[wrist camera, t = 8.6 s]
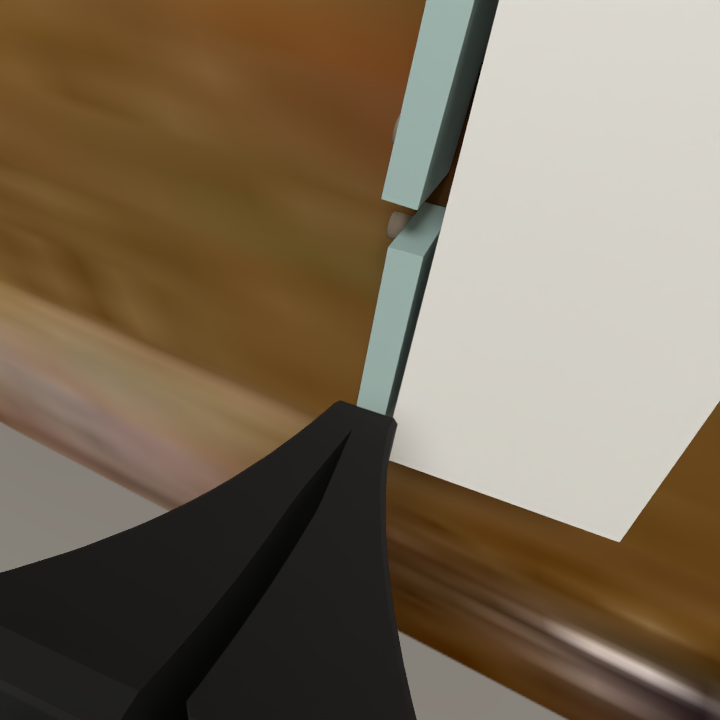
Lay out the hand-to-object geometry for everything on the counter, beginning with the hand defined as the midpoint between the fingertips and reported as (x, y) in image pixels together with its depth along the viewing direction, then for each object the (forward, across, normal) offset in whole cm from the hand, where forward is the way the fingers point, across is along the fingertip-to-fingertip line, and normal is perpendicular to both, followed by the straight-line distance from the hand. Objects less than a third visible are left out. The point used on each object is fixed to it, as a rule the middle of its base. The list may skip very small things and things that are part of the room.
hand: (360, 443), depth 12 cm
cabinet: (+10, -3, -4) cm, 11 cm away
